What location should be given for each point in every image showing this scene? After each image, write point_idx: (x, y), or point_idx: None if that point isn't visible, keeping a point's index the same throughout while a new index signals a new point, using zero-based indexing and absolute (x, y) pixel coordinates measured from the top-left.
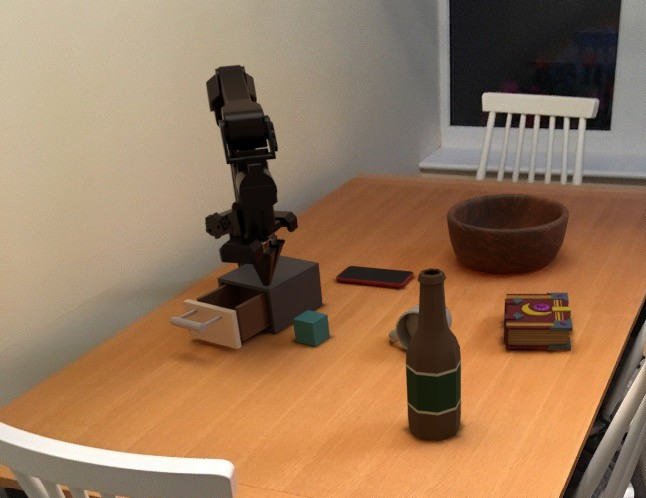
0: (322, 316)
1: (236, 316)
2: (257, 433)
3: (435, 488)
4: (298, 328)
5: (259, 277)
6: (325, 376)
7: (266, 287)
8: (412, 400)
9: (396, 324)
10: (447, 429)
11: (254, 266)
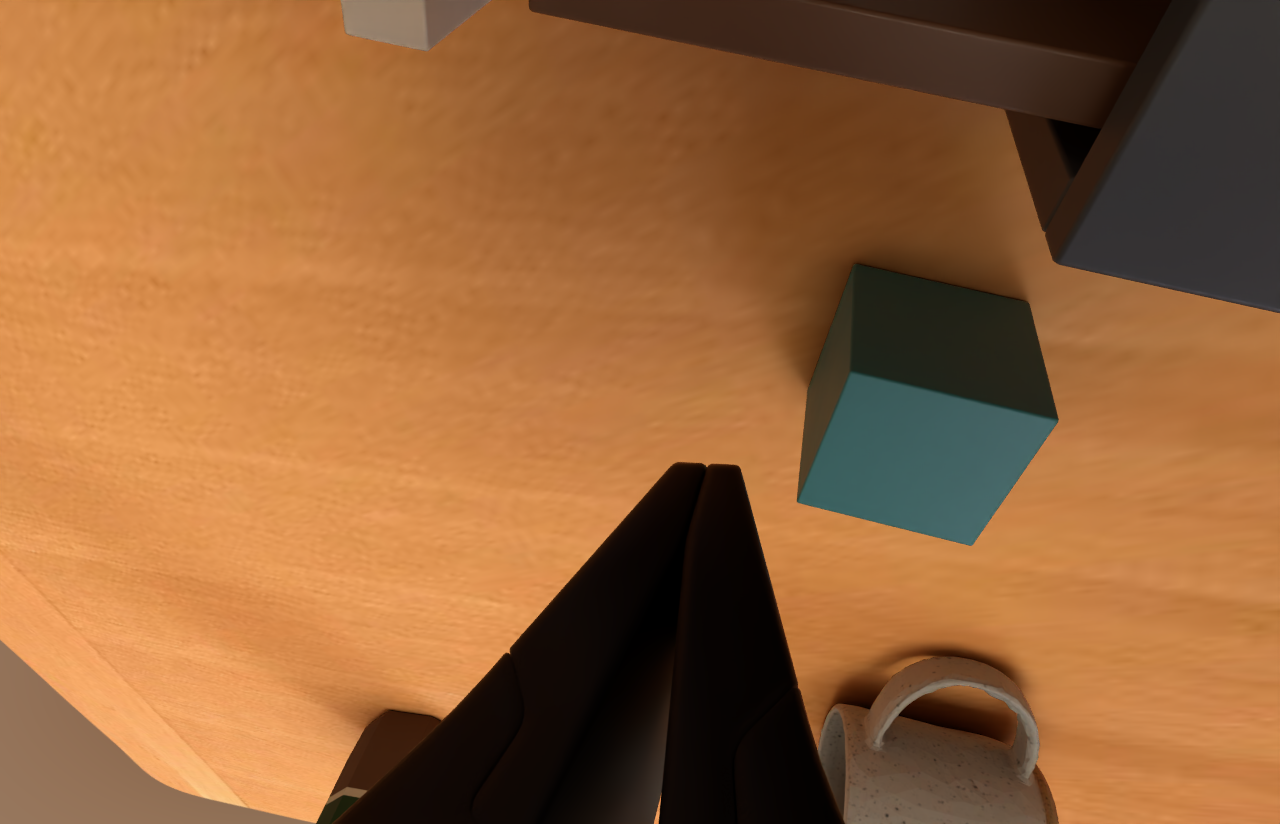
0: (927, 529)
1: (452, 29)
2: (71, 415)
3: (253, 738)
4: (838, 360)
5: (603, 549)
6: (530, 503)
7: (1135, 198)
8: (324, 818)
9: (847, 791)
10: None
11: (462, 715)
